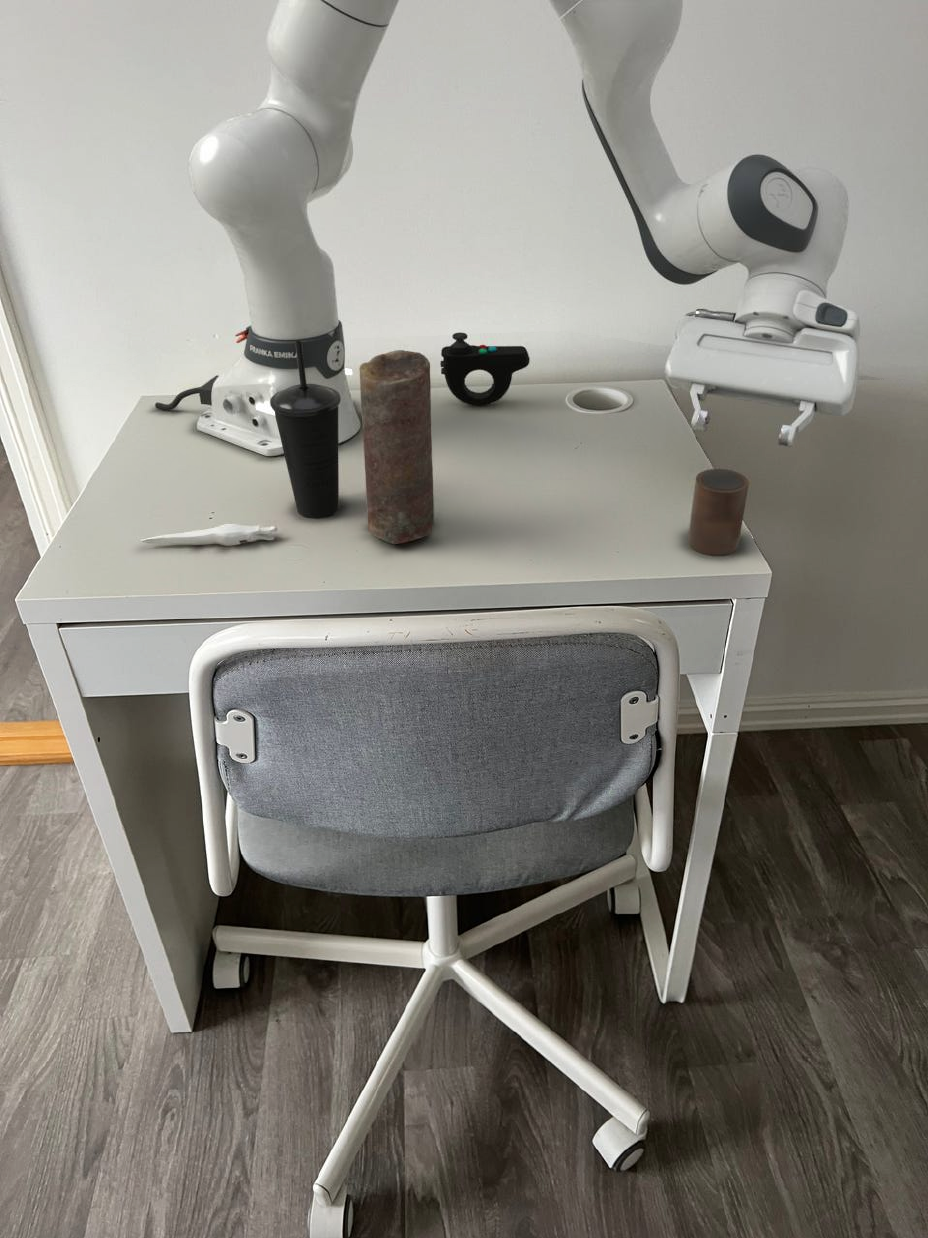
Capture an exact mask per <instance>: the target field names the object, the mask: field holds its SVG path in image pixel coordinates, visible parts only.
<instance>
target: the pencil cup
mask: <svg viewBox="0 0 928 1238" xmlns="http://www.w3.org/2000/svg"><path fill="white" fill-rule="evenodd" d="M749 485H750V482H749V479H748V478H747V477H746V476H745V475H743V474H742V473H740V472H739V471H735V470H732V469H726V468H710V469H705V470H703V471H701V472H699V473H697V474H696V477H695V482H694V487H693V496H692V504H691V512H690V520H689V528H688V536H687V544H688V545H689V547H690V548H691V549H692V550H694V551H695V552H698V553H700V554H703V555H708V556H713V557H714V556H716V557H717V556H718V557H720V556H727V555H730V554H733V553H734V552H736V551H737V550H738V548H739V546H740V545H739V544H740V539H741V532H742V527H743V521H744V515H745V508H746V502H747V498H748V497H747V496H748V490H749Z"/></svg>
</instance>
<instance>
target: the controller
mask: <svg viewBox="0 0 928 1238" xmlns="http://www.w3.org/2000/svg"><path fill="white" fill-rule="evenodd" d="M452 339H453V340H455V341H454V342H453V343H452V344H450V345H445V346H444V347H442V348H441V351H440V355H441V357H442V360H440V363H439V364H440V365H439V367H440V368H441V369H440V374H441V375H444V379H445V383H446V385H447V387H448V389H449V391H450V392H451V394H452V395H453V396H454V397H455V398H456V399H457V400H459V401H460V402H462V403H463V404H466V405H469V406H473V407H483V406H488V405H491V404H494V403H496V402H498V401H499V400H501V399H502V398H503V397H504V396H505V395H506V394H507V392H508V390H509V388H510V386H511V384H512V379H513V374H514V373H516V372H518V371H521V370H523V369H526V368H527V367H528V366H529V365H530V361H531V359H530V355H529V352H528V349H527V348H526V347H525V346H523V345H486V344H480V345H473V344H472V345H471V344H469V343H467V342H466V341H465V340H467V339H468V334H467V333H465V332H455V333H453V334H452ZM474 371H475V372H476V371H484V372H486V373H488V374H489V375H490V376H491V379H492V384H491V386H490V387H489V388H488V389H487V390H485V391H481V392H476V391H473V390H471V389H470V388H468V386H467V385H466V378H467V376H468V375H469V374H470V373H472V372H474Z"/></svg>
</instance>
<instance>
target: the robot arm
mask: <svg viewBox="0 0 928 1238" xmlns="http://www.w3.org/2000/svg"><path fill="white" fill-rule="evenodd" d="M399 1H400V0H278V1H277V4H276V7H275V9H274V13H273V16H272V17H271V21H270V24H269V26H268V30H267V32H266V40H265V44H266V50H267V53H268V56H269V58H270V60H271V68H270V76H269V85H268V89H267V92H266V96H265V98H264V99H263V101H262V102H261V104H260V105H259V106H258V108H257V109H256V110H254V111H251V112H247V113H244V114H241V115H236V116H234V117H233V116H232V117H229V118H226V119H224V120H223V121H221V122H219V123H218V124H216V125H215V126H214V127H213V128H211V129H210V130H208V132H207V133H205V134H204V135H203V136H201V138H199V140H197V142H196V143H195V145H194V146H193V148H192V150H191V153H190V156H189V159H188V160H189V161H188V178H189V183H190V187H191V189H192V192H193V194H194V196H195V198H196V200H197V201H198V203H199V205H200V206H201V207H202V209H203V210H204V211H205V212H206V214H208V215H209V216H210V217H212V219H214V220H216V221H217V222H218V223H219V224H220V225H221V226H222V228H223V229H224V231H225V232H226V234H227V236H228V238H229V240H230V243H231V245H232V247H233V249H234V252H235V254H236V256H237V258H238V263H239V265H240V269H241V274H242V277H243V283H244V289H245V294H246V301H247V306H248V313H249V320H250V324H249V326H246V327H245V329H244V330H242V331H240V332H238V333H237V334H235V337H238V338H237V339H236V340H235V343H236V344H239V343H241V342H244V341H245V340H246V341H245V346H244V350H243V354H242V355H240V357H238V358H237V359H236V360H235V361H234V362H233V363H232V364H231V365H229V366H228V367H227V368H226V369H225V370H224V371H222V372H221V373H220V374H218V375H215V376H213V377H212V378H211V379H209V380H208V381H207V382H205V383H204V384H202V385H201V386H198V387H193V388H189V389H186V390H183V391H181V392H179V393H178V394H177V395H176V396H175V398H174V399H173V400H172V401H171V402H170V403H169V404H167V403H162V402H155V404H154V407H155V409H157V410H158V409H159V410H162V411H171V410H174V409H175V408H177V407H178V405H179V404H180V403H181V401H182V400H184V399H186V398H187V397H189V396H193V395H196V394H198V395H199V401H200V405H204V406H205V405H207V406H211V407H210V408H208V409H206V410H205V411H204V412H203V413H202V414H201V415H200V416H199V417H198V419H197V421H196V427H197V430H198V431H200V432H202V433H204V434H207V435H210V436H212V437H215V438H218V439H220V440H222V441H226V442H228V443H229V444H230V443H231V444H233V445H236V446H237V447H238V446H239V447H241V448H244V449H247V450H249V451H251V452H254V453H257V454H259V455H262V456H264V457H265V456H266V457H274V456H275V457H276V456H280V455H284V451H283V447H282V443H281V439H280V434H279V430H278V426H277V422H276V417H275V413H274V411H273V410H272V408H271V406H270V399H271V397H272V396H273V395H274V394H276V393H277V392H279V391H282V390H284V389H286V388H289V387H291V386H294V385H299V384H300V378H299V370H298V362H297V353H296V345H295V341H296V340H301V341H302V350H303V358H304V366H305V375H306V383H307V384H317V385H321V386H325V387H329V388H332V389H334V390H336V391H337V392H338V393H339V394H340V398H341V401H340V404H339V405H338V445H339V444H341V443H344V442H345V441H347V440H349V439H351V438H353V437H354V436H355V435H356V434H357V433H358V432H359V430H360V428H361V426H362V425H361V424H362V423H361V420H360V418H359V416H358V413H357V411H356V408H355V405H354V401H353V398H352V395H351V394H352V393H351V391H350V387H349V383H348V379H347V376H348V375H350V376H352V375H353V369H351V368H346V367H345V363H346V348H345V347H346V345H345V336H344V329H343V323H342V321H341V319H339V312H338V311H339V310H338V301H337V300H338V299H337V291H336V289H337V288H336V280H335V268H334V262H333V260H332V257H330V255H329V254H328V252H326V251H325V250H324V249H322V248H321V247H320V246H319V244H318V241H317V239H316V237H315V234H314V232H313V229H312V226H311V222H310V220H309V215H308V204H309V203H312V202H314V201H316V200H318V199H320V198H322V197H325V196H326V195H328V194H330V192H331V191H333V189H335V187H337V186H338V185H339V183H340V182H341V181H342V180H343V178H344V177H345V176H346V174H347V173H348V172H349V169H350V167H351V166H352V161H353V156H354V144H353V138H352V131H353V126H354V121H355V116H356V112H357V107H358V103H359V100H360V95H361V93H362V90H363V87H364V84H365V82H366V79H367V77H368V74H369V72H370V70H371V68H372V66H373V63H374V61H375V58H376V56H377V53H378V52H379V49H380V47H381V44H382V42H383V39H384V37H385V34H386V32H387V30H388V28H389V25H390V24H391V21H392V18H393V16H394V14H395V12H396V8H397V6H398V4H399ZM548 1H549V3H550V5H551V6H552V8H553V10H554V11H555V14H556V15H557V16H558V18H560V22H561V23H562V25H563V27H564V28H565V31H566V32H567V34H568V37H569V38H570V41H571V43H572V46H573V48H574V51H575V54H576V56H577V59H578V63H579V67H580V70H581V75H582V78H581V93H582V97H583V103H584V105H585V108H586V111H587V114H588V116H589V120H590V122H591V124H592V126H593V129H594V131H595V133H596V135H597V138H598V140H599V142H600V145H601V147H602V148H603V150H604V152H605V155H606V157H607V159H608V161H609V164H610V165H611V168H612V169H613V172H614V174H615V176H616V178H617V180H618V182H619V183H618V184H619V185H620V187H621V189H622V191H623V193H624V195H625V198H626V199H627V202H628V204H629V205H630V208H631V211H632V213H633V216H634V219H635V221H636V225H637V228H638V232H639V236H640V241H641V244H642V247H643V250H644V253H645V256H646V258H647V260H648V262H649V263H650V265H651V267H652V268H653V269H654V270H655V271H656V272H657V273H658V274H659V275H660V276H661V277H662V278H664V279H665V280H667V281H669V282H671V283H673V284H676V285H682V286H683V285H684V286H685V285H686V286H687V285H692V284H696V283H697V282H700V281H701V280H703V279H705V278H708V277H710V276H711V275H714V274H715V273H717V272H718V271H721V270H722V269H725V268H729V267H731V266H734V265H736V264H739V263H740V264H741V266H744V267H745V268H746V269H747V271H748V276H747V279H746V281H745V283H744V287H743V289H742V293H741V297H740V300H739V302H738V305H737V309H736V312H730V311H720V310H719V311H718V310H709V309H706V308H696V309H695V311H690V312H688V313H686V314H685V315H683V316H682V317H681V318H680V320H679V321H678V325H677V327H676V331H675V341H674V343H673V345H672V347H671V349H670V351H669V354H668V357H667V360H666V362H665V365H664V375H665V378H666V380H667V382H668V384H669V386H670V387H671V388H672V389H674V390H678V391H679V390H680V391H685V392H686V391H687V392H689V394H690V398H691V401H692V405H693V410H694V412H693V415H692V418H691V423H690V426H691V429H692V430H695V431H699V432H706V431H707V429H708V424H709V422H710V419H711V416H710V412H709V411H707V410H703V409H702V407H701V404H700V403H704V402H705V401H706V399H707V395H708V396H709V395H710V396H716V397H722V398H728V399H733V400H740V401H745V402H752V403H756V404H764V405H771V406H775V407H780V408H781V407H782V408H787V409H794V410H798V417H797V418H796V419H795V420H794V421H793V422H792V423H791V424H790V425H789V424H788V425H787V424H782V426H781V428H780V433H779V435H778V440H777V442H778V446H784V447H788V448H794V445H795V441H796V439H797V435H798V434H799V433H801V431H803V430H804V429H805V428H806V427H807V426H808V425H809V424H810V423H811V422H812V421H813V419H814V416H815V413H818V414H823V415H830V416H835V417H843V416H845V415H846V414H848V413H849V412H850V411H851V410H852V409H853V406H854V402H855V398H856V392H857V387H858V386H857V385H858V377H859V368H860V367H859V366H860V349H859V346H858V345H859V343H860V342H859V341H860V337H861V336H860V335H861V323H860V317H859V315H858V314H857V313H856V312H855V311H853V310H851V309H849V308H846V307H845V306H842V305H840V304H837V303H835V302H833V301H831V300H829V299H827V298H828V288H827V287H828V283H829V280H830V278H831V276H832V275H833V273H834V272H835V270H836V267H837V266H838V262H839V259H840V256H841V253H842V249H843V246H844V242H845V238H846V233H847V227H848V220H849V209H850V208H849V207H850V206H849V205H850V204H849V195H848V194H849V193H848V191H847V188H846V186H845V184H844V183H843V182H842V181H841V180H840V179H839V178H838V177H837V176H835V175H834V174H832V173H831V172H829V171H828V170H824V169H822V168H818V167H817V168H816V167H802V168H798V169H790V168H788V167H787V166H785V165H784V164H782V163H781V162H780V161H778V160H777V159H775V158H773V157H772V156H768V155H765V154H757V153H755V154H750V155H748V156H745V157H742V158H740V159H738V160H736V161H734V162H732V163H730V164H727V165H726V166H724V167H722V168H720V169H718V170H715V171H714V172H712V173H711V174H710V175H708V176H706V177H704V178H701V179H699V180H698V181H695V182H693V183H691V184H690V183H687V182H686V181H684V180H682V179H681V178H680V176H679V175H678V173H677V171H676V169H675V166H674V163H673V162H672V159H671V157H670V154H669V152H668V150H667V148H666V145H665V144H664V141H663V138H662V137H661V134H660V132H659V130H658V129H659V128H658V127H657V125H656V122H655V120H654V118H653V114H652V107H651V95H652V89H653V86H654V82H655V80H656V77H657V75H658V73H659V72H660V71H659V70H660V69H661V67H662V65H663V63H664V62H665V60H666V58H667V56H668V55H669V53H670V51H671V49H672V47H673V45H674V44H675V43H674V42H675V40H676V38H677V35H678V32H679V28H680V24H681V20H682V15H683V2H684V1H683V0H548ZM563 15H564V16H563ZM562 16H563V17H562Z"/></svg>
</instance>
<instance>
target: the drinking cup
mask: <svg viewBox="0 0 928 1238" xmlns="http://www.w3.org/2000/svg"><path fill="white" fill-rule="evenodd" d="M295 345H296V353H297V362H298V370H299V378H300V384H299V385H294V386H291V387H289V388H286V389H284V390H282V391H279V392H277V393H276V394H274V395H273V396H272V397H271V399H270V406H271V408H272V410H273V411H274V413H275V417H276V422H277V426H278V430H279V434H280V439H281V443H282V447H283V451H284V454H283V456H284V459H285V460H284V461H285V463H286V469H287V472H288V477H289V481H290V485H291V489H292V494H293V497H294V501H295V506H296V510H297V513H298V514H299V515H300V516H302V517H303V518H307V519H322V518H326V517H330V516H332V515H334V514H335V513H337V512H338V510H339V506H340V505H339V503H340V501H339V500H340V499H339V498H340V497H339V491H340V489H339V486H340V485H339V481H340V479H339V478H340V477H339V476H340V475H339V473H340V472H339V469H340V468H339V444H338V405H339V404H340V401H341V398H340V394H339V393H338V392H337V391H336V390H334V389H332V388H329V387H325V386H321V385H317V384H307V383H306V375H305V366H304V358H303V350H302V341H301V340H296V341H295Z"/></svg>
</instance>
